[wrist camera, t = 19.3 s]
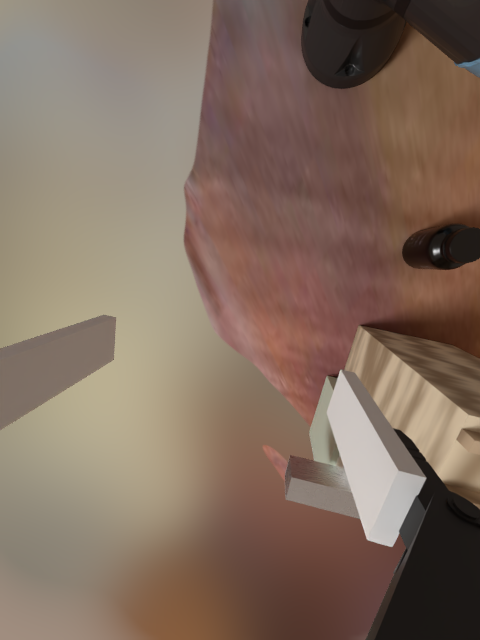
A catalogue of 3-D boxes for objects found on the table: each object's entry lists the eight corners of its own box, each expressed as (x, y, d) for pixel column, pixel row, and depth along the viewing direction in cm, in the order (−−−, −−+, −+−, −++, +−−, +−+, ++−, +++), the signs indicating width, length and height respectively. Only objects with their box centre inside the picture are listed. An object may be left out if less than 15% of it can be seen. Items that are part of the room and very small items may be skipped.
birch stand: (344, 369, 53) (434, 517, 23) (358, 325, 50) (482, 426, 20) (432, 389, 51) (656, 578, 21) (452, 344, 49) (741, 488, 18)
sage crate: (309, 432, 58) (319, 490, 43) (326, 375, 54) (345, 418, 39) (374, 449, 56) (408, 515, 42) (398, 392, 52) (443, 443, 38)
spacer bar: (284, 475, 39) (285, 499, 35) (290, 454, 38) (291, 477, 34) (490, 527, 36) (516, 559, 32) (502, 506, 35) (530, 537, 31)
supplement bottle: (450, 247, 45) (510, 243, 33) (418, 276, 46) (464, 282, 35) (423, 221, 44) (475, 208, 33) (392, 251, 46) (430, 248, 35)
